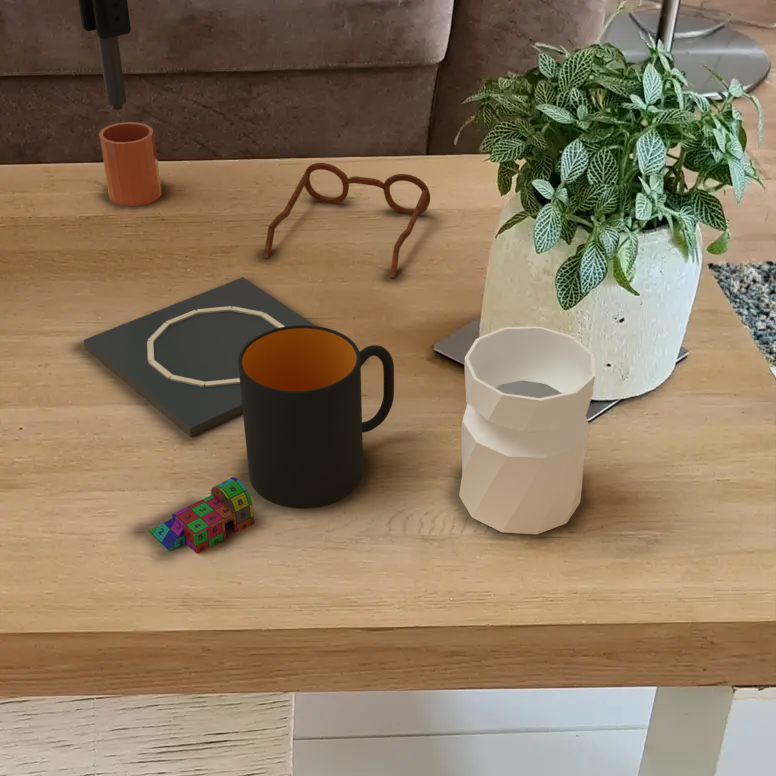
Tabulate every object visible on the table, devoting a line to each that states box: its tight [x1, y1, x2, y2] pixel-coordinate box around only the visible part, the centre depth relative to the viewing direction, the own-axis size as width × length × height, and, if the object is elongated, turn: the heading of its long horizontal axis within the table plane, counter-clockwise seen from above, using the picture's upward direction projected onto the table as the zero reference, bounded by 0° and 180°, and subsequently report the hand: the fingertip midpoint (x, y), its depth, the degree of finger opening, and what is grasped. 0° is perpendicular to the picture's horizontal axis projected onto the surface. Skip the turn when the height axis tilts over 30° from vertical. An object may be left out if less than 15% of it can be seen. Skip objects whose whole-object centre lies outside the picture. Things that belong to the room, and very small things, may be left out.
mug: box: [238, 325, 395, 509], centre depth 83 cm, size 8×12×10 cm
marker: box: [97, 36, 127, 111], centre depth 109 cm, size 2×2×13 cm
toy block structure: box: [147, 476, 255, 554], centre depth 79 cm, size 6×4×3 cm
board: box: [82, 276, 316, 438], centre depth 97 cm, size 16×16×1 cm
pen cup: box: [98, 121, 163, 207], centre depth 117 cm, size 5×5×7 cm
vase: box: [458, 326, 596, 535], centre depth 80 cm, size 9×9×12 cm
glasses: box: [263, 162, 431, 279], centre depth 112 cm, size 13×13×5 cm
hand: (106, 30), depth 109 cm, fingers closed on marker, 2 cm apart
